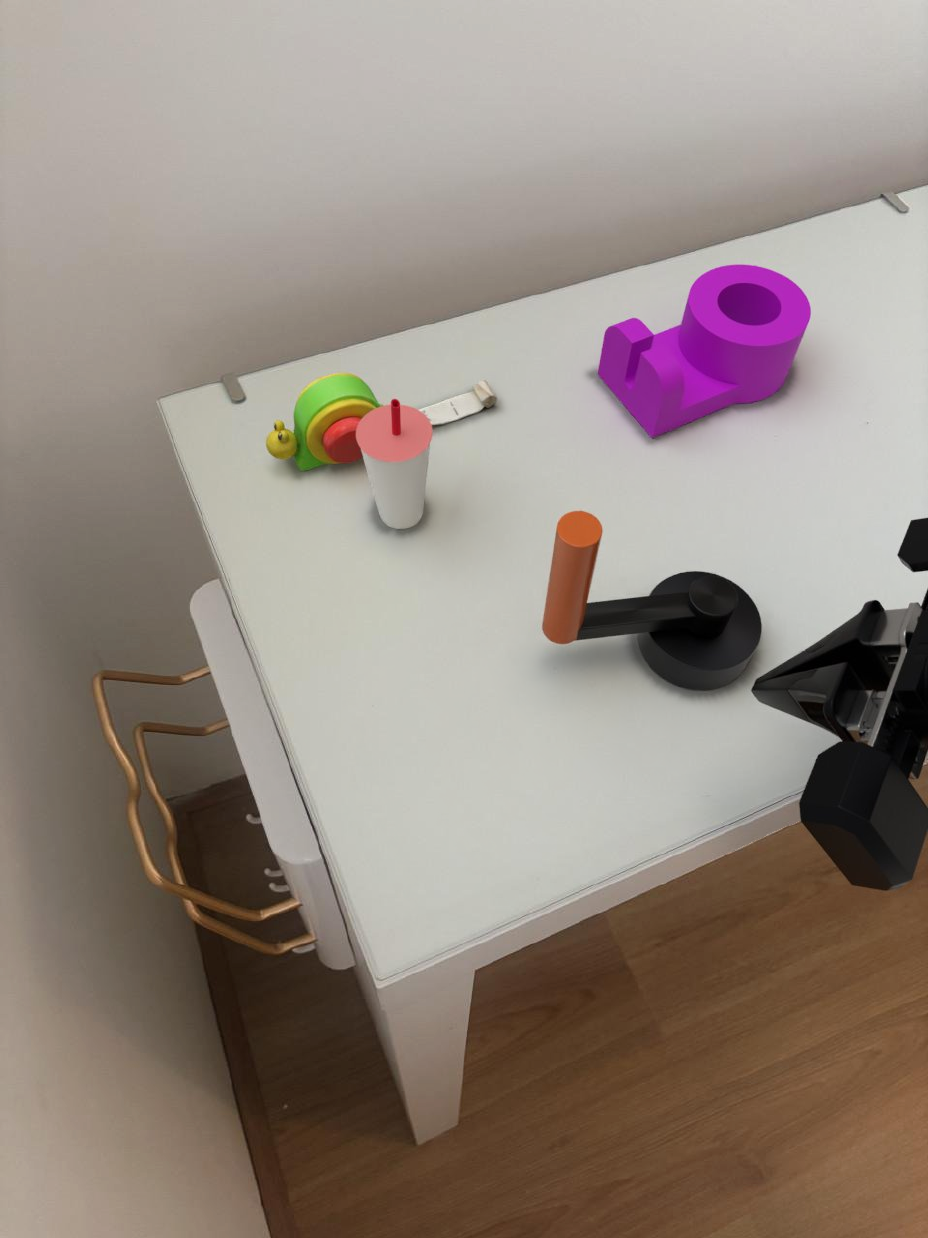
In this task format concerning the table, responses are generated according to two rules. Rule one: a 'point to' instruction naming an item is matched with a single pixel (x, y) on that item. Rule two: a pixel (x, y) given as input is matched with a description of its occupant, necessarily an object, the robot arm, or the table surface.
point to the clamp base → (702, 642)
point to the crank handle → (580, 620)
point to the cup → (396, 461)
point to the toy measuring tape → (350, 419)
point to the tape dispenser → (708, 348)
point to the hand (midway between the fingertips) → (756, 690)
